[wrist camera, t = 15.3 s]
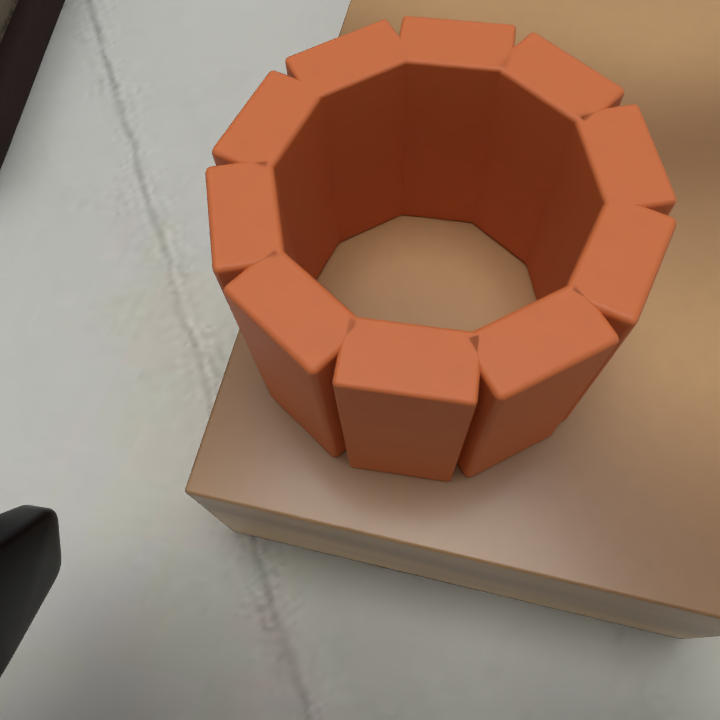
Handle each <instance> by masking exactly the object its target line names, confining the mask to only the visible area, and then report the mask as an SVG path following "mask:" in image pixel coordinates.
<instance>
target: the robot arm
mask: <svg viewBox="0 0 720 720" xmlns="http://www.w3.org/2000/svg"><path fill="white" fill-rule="evenodd" d="M60 566H61V548H60V537H59V525H58V518H57V515H56V513H55V511H53V510H52V509H50V508H44V507H38V506H32V505H23V506H20V507H17V508H14V509H12V510H9V511H7V512H4V513H2V514H0V677H1V675H2V674H3V672H4V670H5V669H6V667H7V665H8V664H9V662H10V660H11V658H12V657H13V655H14V653H15V651H16V649H17V648H18V646H19V644H20V642H21V641H22V639H23V637H24V635H25V633H26V632H27V630H28V628H29V626H30V624H31V623H32V621H33V619H34V617H35V615H36V614H37V612H38V610H39V608H40V606H41V605H42V603H43V601H44V599H45V597H46V596H47V594H48V592H49V590H50V588H51V587H52V585H53V583H54V581H55V579H56V577H57V575H58V573H59V570H60Z"/></svg>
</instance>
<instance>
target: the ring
mask: <svg viewBox="0 0 720 720" xmlns="http://www.w3.org/2000/svg"><path fill="white" fill-rule="evenodd" d="M515 36H516V27H515V25H510V24H498V23H486V22H474V21H462V20H450V19H438V18H426V17H414V16H404V17H403V19H402V24H401V29H400V34H399V36H398V34H397V33H396V32H395V30H394V29H393V27H392V26H391V25H390V23H389V22H388V21H387V20H386V19H383V20H380V21H378V22H375V23H373V24H370V25H368V26H365V27H363V28H360V29H358V30H355V31H353V32H350V33H348V34H345V35H343V36H340V37H338V38H335V39H333V40H330V41H328V42H325V43H323V44H320V45H318V46H315V47H313V48H310V49H308V50H305V51H303V52H300V53H297V54H295V55H292V56H290V57H288V58H286V61H285V62H286V68H287V74H288V75H285V74H282V73H279V72H277V71H271V72H269V73H268V75H267V76H266V78H265V79H264V80H263V82H262V83H261V84H260V86H259V87H258V88H257V90H256V91H255V92H254V94H253V95H252V96H251V98H250V99H249V101H248V102H247V103H246V105H245V106H244V107H243V109H242V110H241V111H240V113H239V114H238V115H237V117H236V118H235V119H234V121H233V122H232V123H231V125H230V126H229V128H228V129H227V130H226V132H225V133H224V134H223V136H222V137H221V138H220V140H219V141H218V142H217V144H216V145H215V146H214V148H213V151H212V155H213V158H214V161H215V164H216V166H212V167H209V168H207V170H206V188H207V201H208V214H209V228H210V241H211V254H212V267H213V271H214V274H215V276H216V278H217V280H218V282H219V285H220V287H221V289H222V291H223V293H224V296H225V298H226V300H227V302H228V304H229V306H230V309H231V311H232V313H233V315H234V317H235V320H236V322H237V324H238V326H239V328H240V330H241V333H242V335H243V337H244V339H245V341H246V344H247V346H248V348H249V350H250V352H251V355H252V357H253V359H254V361H255V363H256V365H257V368H258V370H259V372H260V374H261V376H262V378H263V379H264V382H265V384H266V386H267V388H268V390H269V393H270V395H271V396H272V397H273V398H274V399H275V400H276V401H277V402H278V403H279V404H280V405H281V406H282V407H283V408H284V409H285V410H286V411H287V412H288V413H289V414H290V415H291V416H292V417H293V418H294V419H295V420H296V421H297V422H298V423H299V424H300V425H301V426H302V427H303V428H304V429H305V430H306V431H307V432H308V433H309V434H310V435H311V436H312V437H313V438H314V439H315V440H316V441H317V442H318V443H319V444H320V445H321V446H322V447H323V448H324V449H325V450H326V451H327V452H328V453H329V454H330V455H331V456H333V457H337V456H339V455H340V454H341V453H342V452H343V451H344V450H347V455H348V460H349V464H350V466H351V467H354V468H361V469H367V470H374V471H381V472H387V473H394V474H400V475H407V476H414V477H420V478H427V479H433V480H440V481H450V480H451V478H452V475H453V473H454V470H455V467H456V464H458V466H459V467H460V469H461V471H462V473H463V474H464V475H465V476H466V477H472V476H474V475H476V474H478V473H480V472H481V471H483V470H485V469H487V468H489V467H491V466H493V465H495V464H497V463H499V462H501V461H503V460H505V459H507V458H509V457H510V456H512V455H514V454H516V453H518V452H520V451H522V450H524V449H526V448H528V447H530V446H532V445H534V444H536V443H537V442H539V441H541V440H543V439H545V438H547V437H549V436H551V435H552V433H553V432H554V431H555V429H556V428H557V426H558V425H559V424H560V422H561V421H564V420H566V419H567V417H568V416H569V415H570V413H571V412H572V411H573V409H574V408H575V407H576V405H577V404H578V403H579V401H580V400H581V398H582V397H583V396H584V394H585V393H586V392H587V390H588V389H589V388H590V386H591V385H592V384H593V382H594V381H595V380H596V378H597V377H598V375H599V374H600V373H601V371H602V370H603V369H604V367H605V366H606V365H607V363H608V362H609V361H610V359H611V358H612V357H613V355H614V354H615V352H616V351H617V350H618V348H619V347H620V346H621V344H622V343H623V342H624V340H625V339H626V338H627V336H628V335H629V334H630V332H631V331H632V329H633V328H634V327H635V325H636V324H637V323H638V321H639V318H640V316H641V313H642V311H643V308H644V306H645V303H646V301H647V298H648V296H649V293H650V291H651V288H652V286H653V283H654V281H655V278H656V276H657V273H658V271H659V268H660V266H661V263H662V261H663V258H664V256H665V253H666V251H667V248H668V246H669V243H670V241H671V238H672V236H673V233H674V231H675V228H676V220H675V219H674V218H673V217H671V216H668V215H669V214H670V212H671V210H672V209H673V207H674V206H675V204H676V195H675V193H674V191H673V188H672V186H671V183H670V181H669V178H668V176H667V174H666V171H665V169H664V166H663V164H662V162H661V159H660V157H659V154H658V152H657V149H656V147H655V145H654V142H653V140H652V137H651V135H650V132H649V130H648V128H647V125H646V123H645V120H644V118H643V116H642V113H641V111H640V108H639V106H638V105H636V104H631V105H624V106H619V105H620V103H621V100H622V98H623V95H624V93H625V90H624V89H623V88H622V87H621V86H619V85H617V84H616V83H614V82H613V81H611V80H610V79H608V78H606V77H605V76H603V75H602V74H600V73H598V72H597V71H595V70H594V69H592V68H591V67H589V66H587V65H586V64H584V63H583V62H581V61H579V60H578V59H576V58H575V57H573V56H572V55H570V54H568V53H567V52H565V51H564V50H562V49H560V48H559V47H557V46H556V45H554V44H553V43H551V42H549V41H548V40H546V39H545V38H543V37H541V36H540V35H538V34H537V33H534V32H533V33H530V34H529V35H528V36H527V37H525V38H524V39H523V40H522V41H521V42H519V43H518V44H517V45H516V46H514V45H515ZM399 215H410V216H419V217H428V218H437V219H446V220H455V221H464V222H472V223H474V224H475V225H476V226H477V227H479V228H480V229H481V230H483V231H484V232H485V233H487V234H488V235H489V236H490V237H492V238H493V239H494V240H496V241H497V242H498V243H500V244H501V245H502V246H503V247H505V248H506V249H507V250H509V251H510V252H511V253H513V254H514V255H515V256H516V257H518V258H519V259H520V260H522V261H523V262H524V263H526V264H527V268H528V271H529V274H530V278H531V281H532V285H533V288H534V292H535V295H536V298H537V301H534V302H532V303H530V304H528V305H526V306H524V307H522V308H520V309H518V310H516V311H514V312H512V313H510V314H508V315H505V316H503V317H501V318H499V319H497V320H495V321H493V322H491V323H489V324H487V325H485V326H483V327H481V328H478V329H476V330H474V331H472V332H471V331H463V330H455V329H448V328H440V327H432V326H424V325H417V324H409V323H401V322H393V321H385V320H378V319H370V318H362V317H357V316H356V315H355V314H354V313H353V312H351V311H350V310H349V309H348V308H347V307H346V306H345V305H344V304H342V303H341V302H340V301H339V300H338V299H337V298H336V297H335V296H333V295H332V294H331V293H330V292H329V291H328V290H327V289H326V288H324V287H323V286H322V285H321V284H320V283H319V282H318V281H316V278H317V277H318V275H319V273H320V272H321V270H322V268H323V267H324V265H325V263H326V262H327V260H328V259H329V257H330V255H331V254H332V252H333V250H334V249H335V247H336V246H337V244H338V243H339V242H341V241H343V240H345V239H348V238H350V237H352V236H354V235H357V234H359V233H361V232H363V231H366V230H368V229H370V228H372V227H375V226H377V225H379V224H381V223H384V222H386V221H388V220H390V219H392V218H395V217H397V216H399Z"/></svg>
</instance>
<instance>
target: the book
mask: <svg viewBox="0 0 720 720" xmlns="http://www.w3.org/2000/svg"><path fill="white" fill-rule="evenodd" d="M63 2H64V0H0V167H1V165H2V162H3V160H4V157H5V154H6V152H7V149H8V147H9V144H10V141H11V139H12V136H13V133H14V131H15V128H16V126H17V123H18V120H19V118H20V115H21V112H22V110H23V107H24V105H25V102H26V99H27V97H28V94H29V91H30V89H31V86H32V84H33V81H34V78H35V76H36V73H37V71H38V68H39V65H40V63H41V60H42V57H43V55H44V52H45V50H46V47H47V44H48V42H49V39H50V36H51V34H52V31H53V29H54V26H55V23H56V21H57V18H58V16H59V13H60V10H61V8H62V5H63Z"/></svg>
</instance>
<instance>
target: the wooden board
mask: <svg viewBox="0 0 720 720" xmlns="http://www.w3.org/2000/svg"><path fill="white" fill-rule="evenodd" d="M404 16H414V17H426V18H438V19H450V20H462V21H474V22H486V23H498V24H510V25H515V27H516V36H515V45H514V46H516V45H517V44H518V43H519V42H521V41H522V40H523V39H524V38H525V37H527V36H528V35H529V34H530V33H533V32H534V33H537V34H538V35H540V36H541V37H543V38H545V39H546V40H548V41H549V42H551V43H553V44H554V45H556V46H557V47H559V48H560V49H562V50H564V51H565V52H567V53H568V54H570V55H572V56H573V57H575V58H576V59H578V60H579V61H581V62H583V63H584V64H586V65H587V66H589V67H591V68H592V69H594V70H595V71H597V72H598V73H600V74H602V75H603V76H605V77H606V78H608V79H610V80H611V81H613V82H614V83H616V84H617V85H619V86H621V87H622V88H623V89H624V90H625V93H624V95H623V98H622V100H621V103H620V105H619V106H624V105H631V104H636V105H638V106H639V108H640V111H641V113H642V116H643V118H644V120H645V123H646V125H647V128H648V130H649V132H650V135H651V137H652V140H653V142H654V145H655V147H656V149H657V152H658V154H659V157H660V159H661V162H662V164H663V166H664V169H665V171H666V174H667V176H668V178H669V181H670V183H671V186H672V188H673V191H674V193H675V195H676V204H675V206H674V207H673V209H672V210H671V212H670V214H669V215H668V216H671V217H673V218H674V219H675V220H676V228H675V231H674V233H673V236H672V238H671V241H670V243H669V246H668V248H667V251H666V253H665V256H664V258H663V261H662V263H661V266H660V268H659V271H658V273H657V276H656V278H655V281H654V283H653V286H652V288H651V291H650V293H649V296H648V298H647V301H646V303H645V306H644V308H643V311H642V313H641V316H640V318H639V321H638V323H637V324H636V325H635V327H634V328H633V329H632V331H631V332H630V334H629V335H628V336H627V338H626V339H625V340H624V342H623V343H622V344H621V346H620V347H619V348H618V350H617V351H616V352H615V354H614V355H613V357H612V358H611V359H610V361H609V362H608V363H607V365H606V366H605V367H604V369H603V370H602V371H601V373H600V374H599V375H598V377H597V378H596V380H595V381H594V382H593V384H592V385H591V386H590V388H589V389H588V390H587V392H586V393H585V394H584V396H583V397H582V398H581V400H580V401H579V403H578V404H577V405H576V407H575V408H574V409H573V411H572V412H571V413H570V415H569V416H568V417H567V419H566V420H564V421H561V422H560V424H559V425H558V426H557V428H556V429H555V431H554V432H553V433H552V435H551V436H549V437H547V438H545V439H543V440H541V441H539V442H537V443H536V444H534V445H532V446H530V447H528V448H526V449H524V450H522V451H520V452H518V453H516V454H514V455H512V456H510V457H509V458H507V459H505V460H503V461H501V462H499V463H497V464H495V465H493V466H491V467H489V468H487V469H485V470H483V471H481V472H480V473H478V474H476V475H474V476H472V477H466V476H465V475H464V474H463V473H462V471H461V469H460V467H459V466H458V464H456V467H455V470H454V473H453V475H452V478H451V480H450V481H440V480H433V479H427V478H420V477H414V476H407V475H400V474H394V473H387V472H381V471H374V470H367V469H361V468H354V467H351V466H350V464H349V460H348V455H347V450H344V451H343V452H342V453H341V454H340V455H339V456H337V457H333V456H331V455H330V454H329V453H328V452H327V451H326V450H325V449H324V448H323V447H322V446H321V445H320V444H319V443H318V442H317V441H316V440H315V439H314V438H313V437H312V436H311V435H310V434H309V433H308V432H307V431H306V430H305V429H304V428H303V427H302V426H301V425H300V424H299V423H298V422H297V421H296V420H295V419H294V418H293V417H292V416H291V415H290V414H289V413H288V412H287V411H286V410H285V409H284V408H283V407H282V406H281V405H280V404H279V403H278V402H277V401H276V400H275V399H274V398H273V397H272V396H271V395H270V393H269V390H268V388H267V386H266V384H265V382H264V379H263V378H262V376H261V374H260V372H259V370H258V368H257V365H256V363H255V361H254V359H253V357H252V355H251V352H250V350H249V348H248V346H247V344H246V341H245V339H244V337H243V335H242V333H241V330H240V329H239V332H238V335H237V338H236V341H235V344H234V347H233V350H232V353H231V356H230V359H229V362H228V365H227V368H226V370H225V373H224V376H223V379H222V382H221V385H220V388H219V391H218V394H217V397H216V400H215V403H214V406H213V409H212V412H211V415H210V418H209V421H208V424H207V427H206V429H205V432H204V435H203V438H202V441H201V444H200V447H199V450H198V453H197V456H196V459H195V462H194V465H193V468H192V471H191V474H190V477H189V480H188V483H187V486H186V489H185V492H186V493H187V494H188V495H189V496H191V497H192V498H193V499H194V500H196V501H197V502H198V503H199V504H201V505H202V506H203V507H204V508H206V509H207V510H208V511H209V512H211V513H212V514H213V515H214V516H215V517H217V518H218V519H219V520H220V521H222V522H223V523H224V524H225V525H227V526H228V527H229V528H230V529H232V530H233V531H236V532H240V533H244V534H248V535H252V536H256V537H261V538H265V539H269V540H273V541H277V542H281V543H285V544H290V545H294V546H298V547H302V548H306V549H310V550H315V551H319V552H323V553H327V554H331V555H335V556H339V557H344V558H348V559H352V560H356V561H360V562H364V563H368V564H373V565H377V566H381V567H385V568H389V569H393V570H397V571H402V572H406V573H410V574H414V575H418V576H422V577H427V578H431V579H435V580H439V581H443V582H447V583H451V584H456V585H460V586H464V587H468V588H472V589H476V590H480V591H485V592H489V593H493V594H497V595H501V596H505V597H509V598H514V599H518V600H522V601H526V602H530V603H534V604H539V605H543V606H547V607H551V608H555V609H559V610H563V611H568V612H572V613H576V614H580V615H584V616H588V617H592V618H597V619H601V620H605V621H609V622H613V623H617V624H621V625H626V626H630V627H634V628H638V629H642V630H646V631H651V632H655V633H659V634H663V635H667V636H671V637H675V638H680V639H683V638H698V637H714V636H720V0H351V2H350V5H349V8H348V10H347V13H346V16H345V19H344V22H343V25H342V28H341V31H340V34H339V37H340V36H343V35H345V34H348V33H350V32H353V31H355V30H358V29H360V28H363V27H365V26H368V25H370V24H373V23H375V22H378V21H380V20H383V19H386V20H387V21H388V22H389V23H390V25H391V26H392V27H393V29H394V30H395V32H396V33H397V34H398V36H399V34H400V29H401V24H402V19H403V17H404ZM316 281H318V282H319V283H320V284H321V285H322V286H323V287H324V288H326V289H327V290H328V291H329V292H330V293H331V294H332V295H333V296H335V297H336V298H337V299H338V300H339V301H340V302H341V303H342V304H344V305H345V306H346V307H347V308H348V309H349V310H350V311H351V312H353V313H354V314H355V315H356V316H357V317H362V318H370V319H378V320H385V321H393V322H401V323H409V324H417V325H424V326H432V327H440V328H448V329H455V330H463V331H471V332H472V331H474V330H476V329H478V328H481V327H483V326H485V325H487V324H489V323H491V322H493V321H495V320H497V319H499V318H501V317H503V316H505V315H508V314H510V313H512V312H514V311H516V310H518V309H520V308H522V307H524V306H526V305H528V304H530V303H532V302H534V301H537V298H536V295H535V292H534V288H533V285H532V281H531V278H530V274H529V271H528V268H527V264H526V263H524V262H523V261H522V260H520V259H519V258H518V257H516V256H515V255H514V254H513V253H511V252H510V251H509V250H507V249H506V248H505V247H503V246H502V245H501V244H500V243H498V242H497V241H496V240H494V239H493V238H492V237H490V236H489V235H488V234H487V233H485V232H484V231H483V230H481V229H480V228H479V227H477V226H476V225H475V224H474V223H472V222H464V221H455V220H446V219H437V218H428V217H419V216H410V215H399V216H397V217H395V218H392V219H390V220H388V221H386V222H384V223H381V224H379V225H377V226H375V227H372V228H370V229H368V230H366V231H363V232H361V233H359V234H357V235H354V236H352V237H350V238H348V239H345V240H343V241H341V242H339V243H338V244H337V246H336V247H335V249H334V250H333V252H332V254H331V255H330V257H329V259H328V260H327V262H326V263H325V265H324V267H323V268H322V270H321V272H320V273H319V275H318V277H317V278H316Z"/></svg>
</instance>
